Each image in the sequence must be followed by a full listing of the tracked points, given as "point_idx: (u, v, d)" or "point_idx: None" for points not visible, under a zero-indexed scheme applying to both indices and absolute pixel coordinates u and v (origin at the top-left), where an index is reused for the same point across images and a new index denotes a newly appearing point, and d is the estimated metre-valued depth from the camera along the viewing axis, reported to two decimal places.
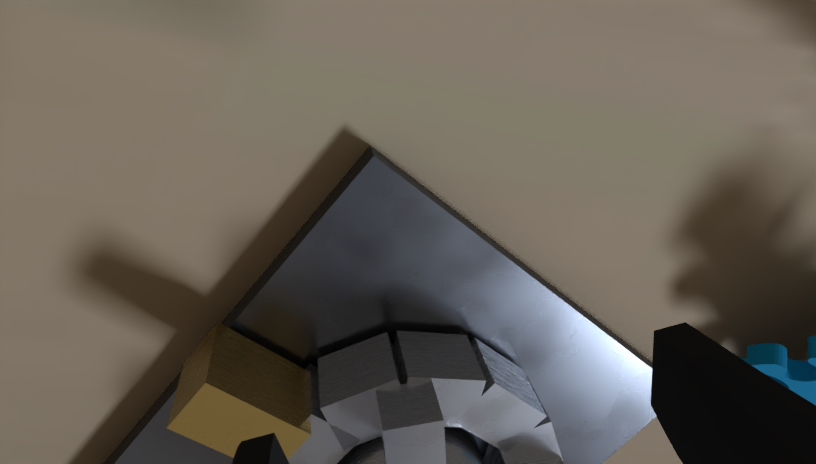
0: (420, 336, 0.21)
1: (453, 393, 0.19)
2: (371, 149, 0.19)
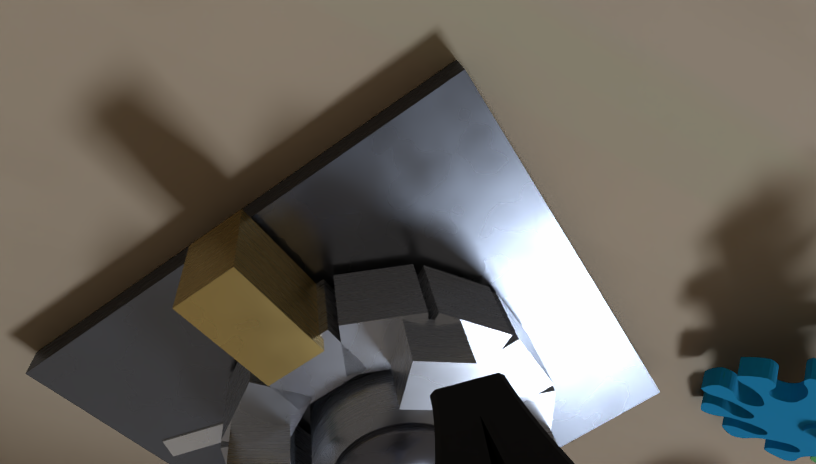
0: (446, 276, 0.20)
1: (476, 340, 0.18)
2: (458, 63, 0.17)
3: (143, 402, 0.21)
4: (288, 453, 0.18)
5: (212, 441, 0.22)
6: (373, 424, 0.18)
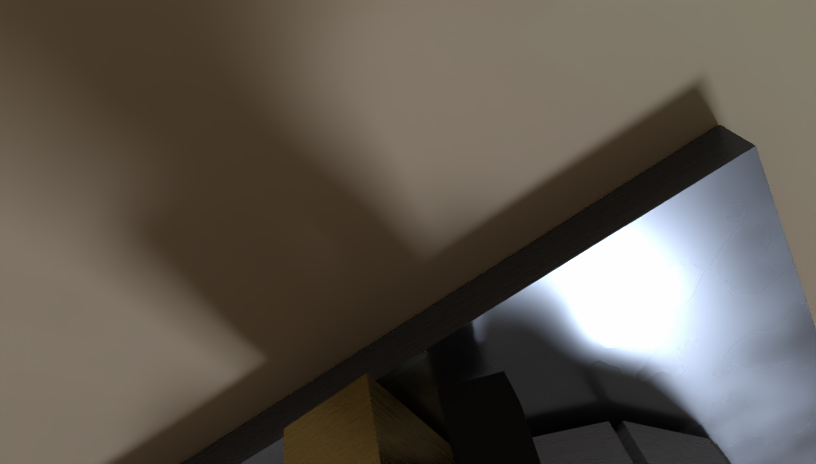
0: (656, 436, 0.13)
1: None
2: (729, 132, 0.11)
3: None
4: None
5: None
6: None
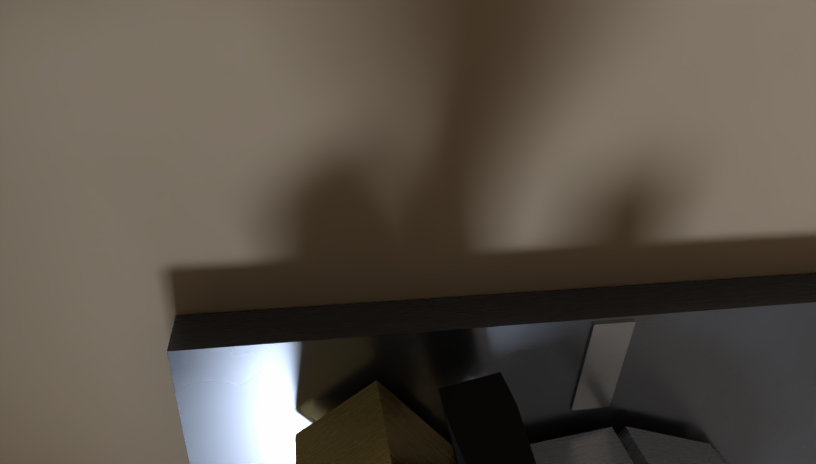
0: (659, 441, 0.13)
1: None
2: None
3: None
4: None
5: None
6: None
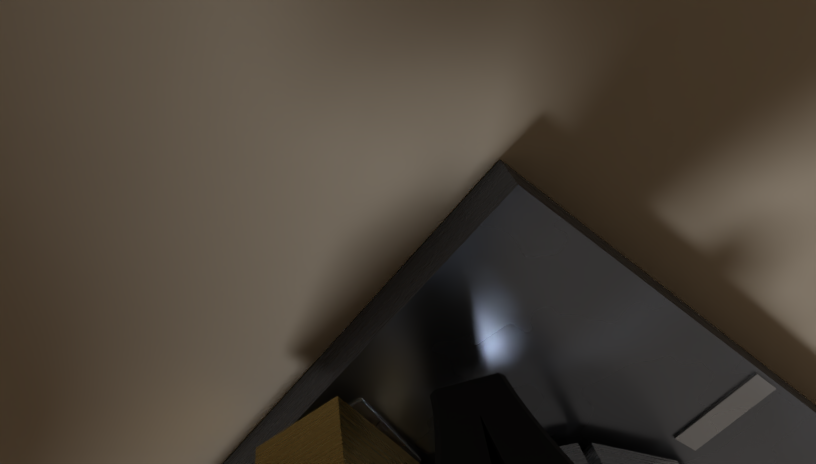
0: (624, 458, 0.13)
1: None
2: None
3: (455, 356, 0.12)
4: None
5: None
6: None
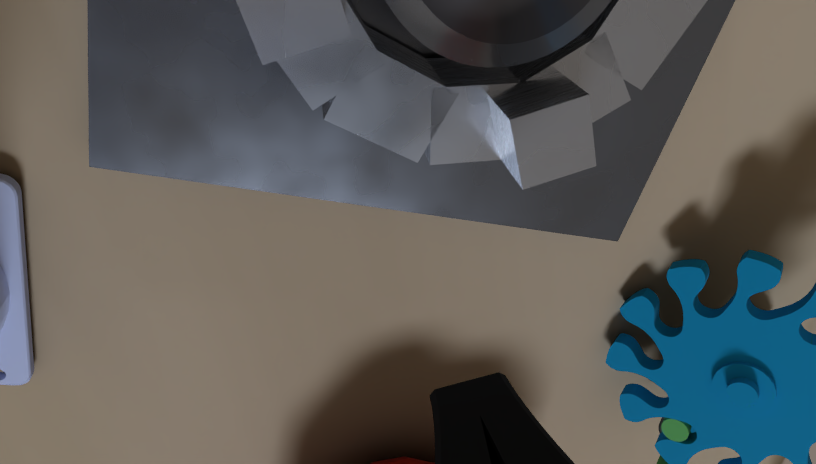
0: None
1: None
2: None
3: None
4: None
5: None
6: None
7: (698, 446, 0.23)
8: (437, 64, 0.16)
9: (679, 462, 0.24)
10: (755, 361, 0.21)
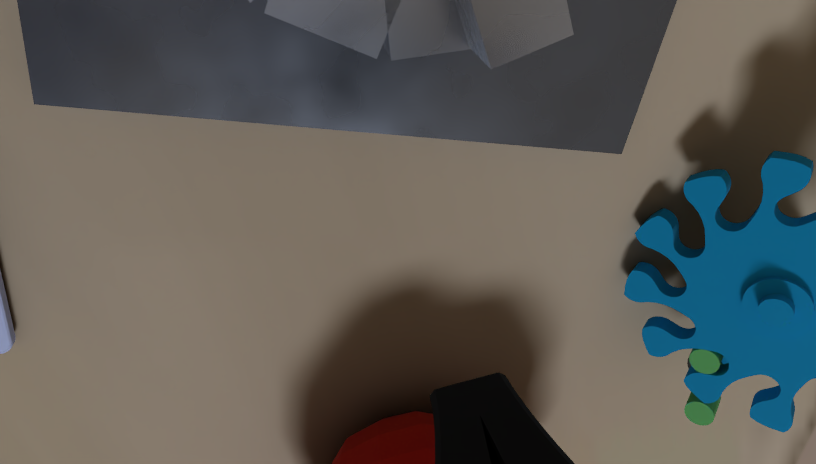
0: None
1: None
2: None
3: None
4: None
5: None
6: None
7: (731, 377, 0.21)
8: None
9: (711, 396, 0.22)
10: (788, 274, 0.19)
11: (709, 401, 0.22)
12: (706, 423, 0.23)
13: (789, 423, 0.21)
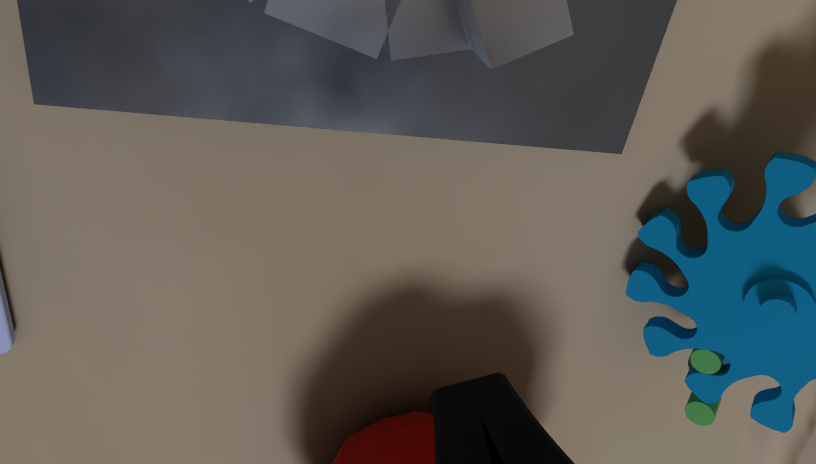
0: None
1: None
2: None
3: None
4: None
5: None
6: None
7: (732, 377, 0.21)
8: None
9: (712, 397, 0.22)
10: (790, 275, 0.19)
11: (710, 401, 0.22)
12: (706, 423, 0.23)
13: (790, 424, 0.21)
